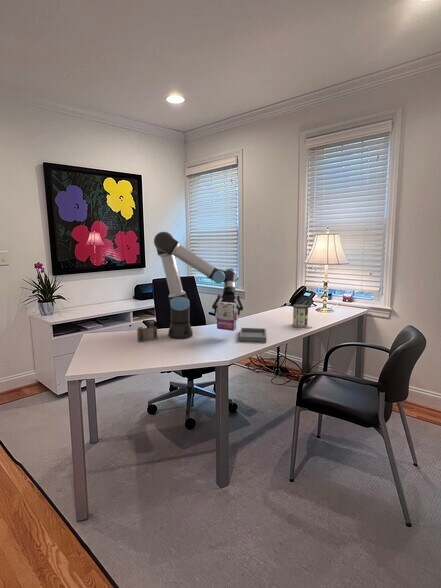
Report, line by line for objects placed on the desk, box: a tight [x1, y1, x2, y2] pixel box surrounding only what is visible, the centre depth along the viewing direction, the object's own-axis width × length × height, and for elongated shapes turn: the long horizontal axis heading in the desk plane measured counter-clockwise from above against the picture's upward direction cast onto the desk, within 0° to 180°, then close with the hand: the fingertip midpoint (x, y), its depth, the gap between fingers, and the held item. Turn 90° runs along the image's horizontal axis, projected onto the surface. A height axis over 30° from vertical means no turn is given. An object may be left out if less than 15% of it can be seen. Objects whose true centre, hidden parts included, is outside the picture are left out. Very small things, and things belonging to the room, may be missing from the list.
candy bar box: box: [216, 301, 238, 332], centre depth 214 cm, size 11×5×16 cm, turn 67°
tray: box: [238, 327, 267, 343], centre depth 217 cm, size 16×20×3 cm
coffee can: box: [292, 303, 309, 328], centre depth 246 cm, size 10×10×14 cm
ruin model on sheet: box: [136, 326, 158, 343], centre depth 208 cm, size 11×3×10 cm, turn 119°
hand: (226, 318), depth 212 cm, fingers closed on candy bar box, 12 cm apart
